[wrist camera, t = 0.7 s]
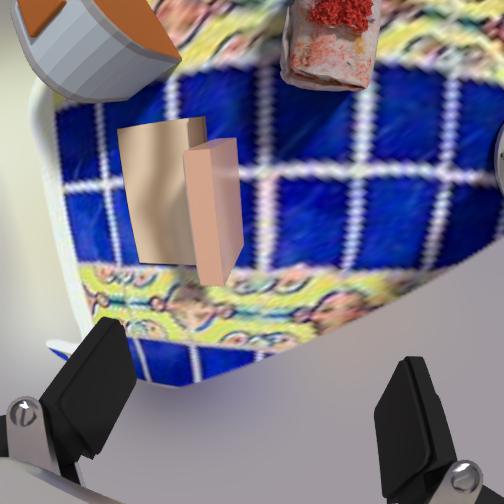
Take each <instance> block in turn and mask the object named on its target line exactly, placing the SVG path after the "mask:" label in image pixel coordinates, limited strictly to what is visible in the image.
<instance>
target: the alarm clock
mask: <svg viewBox="0 0 504 504" xmlns="http://www.w3.org/2000/svg"><path fill="white" fill-rule="evenodd" d="M11 17H12V20H13V24H14V27H15V29H16V32H17V35H18V38H19V41H20V44H21V46H22V49H23V52H24V54H25V57H26V59H27V61H28V63H29V65H30V66H31V68H32V70H33V71H34V72H35V73H36V75H37V76H38V77H39V78H40V79H41V80H42V81H43V82H44V83H45V84H46V85H47V86H49V87H50V88H51V89H52V90H54V91H55V92H57V93H59V94H61V95H62V96H64V97H66V98H68V99H71V100H74V101H77V102H80V103H102V102H115V101H127V100H128V99H130V98H131V97H132V96H133V95H135V94H136V93H137V92H139V91H140V90H141V89H143V88H144V87H145V86H147V85H148V84H149V83H151V82H152V81H153V80H155V79H156V78H158V77H159V76H160V75H162V74H163V73H165V72H166V71H167V70H169V69H170V68H172V67H173V66H175V65H176V64H178V63H179V62H181V61H182V58H181V56H180V55H179V53H178V51H177V50H176V48H175V46H174V45H173V43H172V41H171V40H170V38H169V36H168V35H167V33H166V31H165V30H164V28H163V27H162V25H161V23H160V22H159V20H158V18H157V17H156V15H155V14H154V12H153V10H152V9H151V7H150V6H149V4H148V2H147V1H146V0H13V2H12V6H11Z"/></svg>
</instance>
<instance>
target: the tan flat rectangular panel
mask: <svg viewBox="0 0 504 504" xmlns="http://www.w3.org/2000/svg"><path fill="white" fill-rule="evenodd" d="M117 133H118V142H119V149H120V157H121V164H122V171H123V177H124V184H125V190H126V196H127V201H128V207H129V212H130V218H131V223H132V228H133V233H134V237H135V242H136V247H137V251H138V256H139V260H140V263H158V264H181V265H196V261H195V254H194V247H193V240H192V233H191V226H190V219H189V211H188V203H187V195H186V187H185V179H184V170H183V161H182V155H183V151H185V150H187V149H190V148H191V141H190V130H189V118H186V119H178V120H171V121H163V122H157V123H150V124H144V125H138V126H132V127H127V128H121V129H117Z"/></svg>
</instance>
